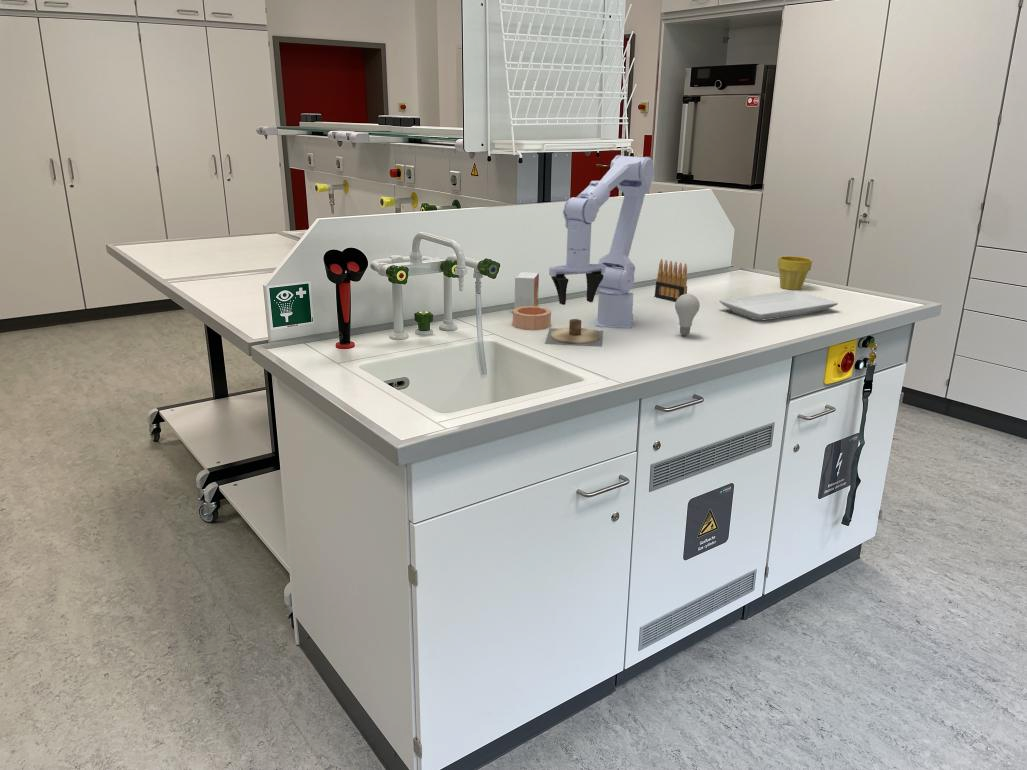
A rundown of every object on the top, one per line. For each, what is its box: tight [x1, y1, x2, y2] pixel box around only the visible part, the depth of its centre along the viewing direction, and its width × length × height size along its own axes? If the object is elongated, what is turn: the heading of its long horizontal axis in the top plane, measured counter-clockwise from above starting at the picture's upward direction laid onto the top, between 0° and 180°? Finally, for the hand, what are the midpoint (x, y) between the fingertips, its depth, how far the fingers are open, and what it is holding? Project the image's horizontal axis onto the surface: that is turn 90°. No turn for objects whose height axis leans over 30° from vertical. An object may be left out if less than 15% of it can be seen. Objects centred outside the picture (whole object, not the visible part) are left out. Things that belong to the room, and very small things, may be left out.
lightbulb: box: [674, 293, 701, 337], centre depth 194 cm, size 6×6×11 cm
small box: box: [514, 271, 540, 309], centre depth 216 cm, size 8×6×10 cm
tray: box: [718, 290, 839, 321], centre depth 221 cm, size 17×32×4 cm, turn 118°
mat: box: [544, 327, 604, 348], centre depth 193 cm, size 14×14×1 cm
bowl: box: [512, 305, 552, 331], centre depth 203 cm, size 10×10×4 cm
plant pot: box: [777, 255, 813, 291], centre depth 249 cm, size 10×10×10 cm
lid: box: [551, 318, 599, 344], centre depth 192 cm, size 12×12×4 cm
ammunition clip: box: [654, 258, 688, 303], centre depth 231 cm, size 11×2×12 cm, turn 43°
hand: (576, 302), depth 190 cm, fingers open, 7 cm apart
